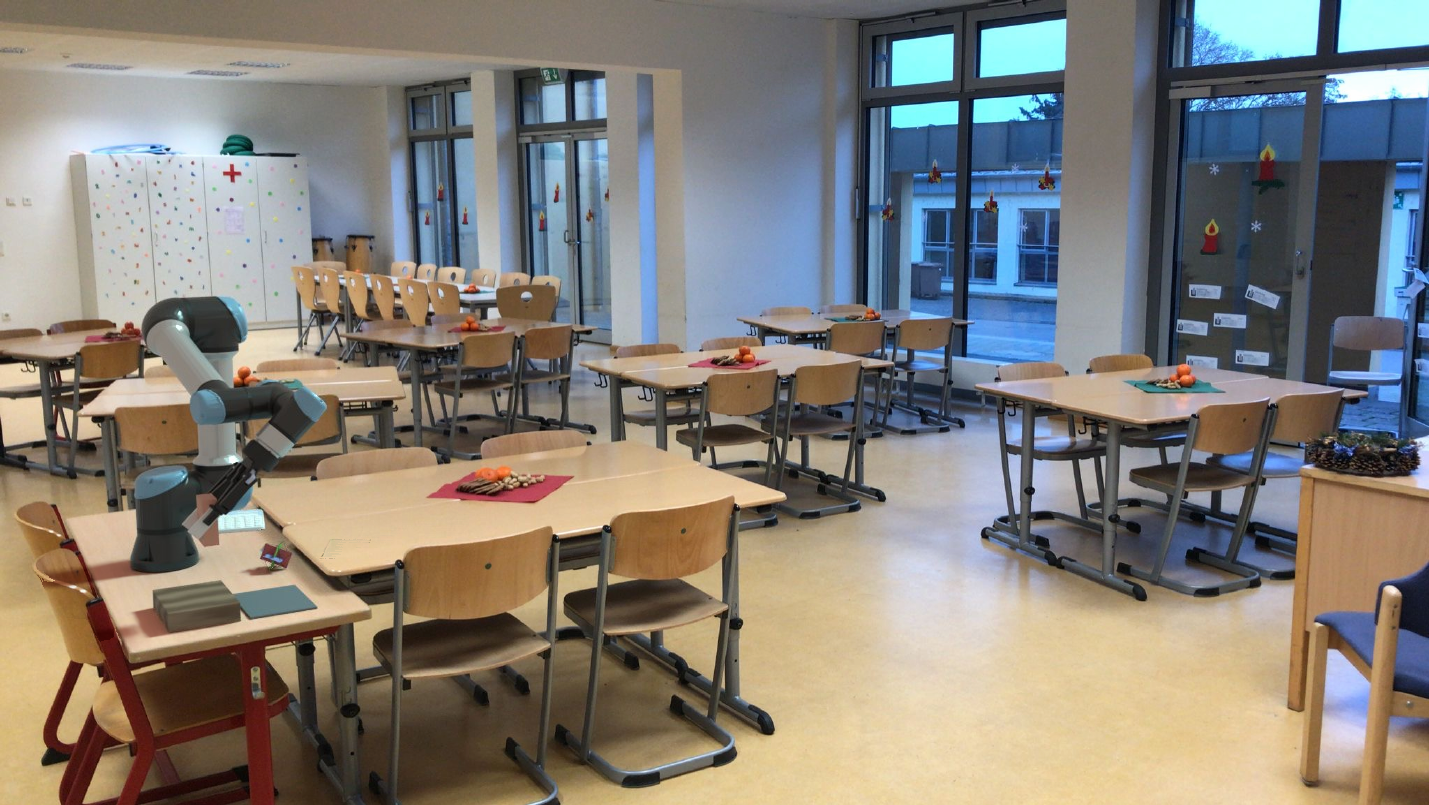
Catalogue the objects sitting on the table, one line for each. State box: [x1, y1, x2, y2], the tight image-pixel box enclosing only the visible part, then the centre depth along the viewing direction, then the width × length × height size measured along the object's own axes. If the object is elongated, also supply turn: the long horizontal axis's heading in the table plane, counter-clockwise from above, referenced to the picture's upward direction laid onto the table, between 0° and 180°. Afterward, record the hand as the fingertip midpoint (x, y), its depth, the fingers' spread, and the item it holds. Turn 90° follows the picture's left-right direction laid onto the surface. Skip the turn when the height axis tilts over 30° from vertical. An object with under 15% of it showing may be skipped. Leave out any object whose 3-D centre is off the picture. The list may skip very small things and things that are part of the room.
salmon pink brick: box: [196, 493, 220, 548], centre depth 249 cm, size 6×3×10 cm, turn 34°
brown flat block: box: [152, 579, 242, 633], centre depth 250 cm, size 18×14×4 cm
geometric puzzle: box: [259, 540, 293, 572], centre depth 284 cm, size 7×7×8 cm
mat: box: [232, 584, 318, 620], centre depth 260 cm, size 18×14×1 cm
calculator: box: [218, 508, 266, 534], centre depth 324 cm, size 13×20×2 cm, turn 23°
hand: (190, 531), depth 247 cm, fingers closed on salmon pink brick, 6 cm apart
